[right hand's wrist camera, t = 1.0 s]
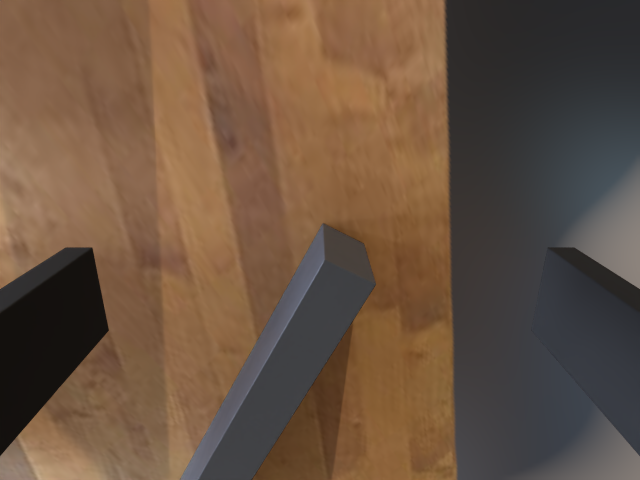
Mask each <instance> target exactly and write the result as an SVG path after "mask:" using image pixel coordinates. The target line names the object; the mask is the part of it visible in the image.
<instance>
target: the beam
mask: <svg viewBox="0 0 640 480" xmlns="http://www.w3.org/2000/svg"><path fill="white" fill-rule="evenodd" d="M375 285H376V283H375V279H374V276H373V273H372V269H371V266H370V262H369V259H368V256H367V252H366V249H365V246H364V244H363V243H361V242H359V241H357V240H355V239H353V238H351V237H349V236H348V235H346V234H344V233H342V232H340V231H338V230H336V229H334V228H332V227H330V226H328V225H326V224H322V226H321V228H320V229H319V231H318V233H317V235H316V236H315V238H314V240H313V242H312V244H311V245H310V247H309V249H308V251H307V253H306V254H305V256H304V258H303V260H302V262H301V263H300V265H299V267H298V269H297V271H296V272H295V274H294V276H293V278H292V280H291V281H290V283H289V285H288V287H287V289H286V290H285V292H284V294H283V296H282V297H281V299H280V301H279V303H278V305H277V306H276V308H275V310H274V312H273V314H272V315H271V317H270V319H269V321H268V323H267V324H266V326H265V328H264V330H263V332H262V333H261V335H260V337H259V339H258V341H257V342H256V344H255V346H254V348H253V350H252V351H251V353H250V355H249V357H248V358H247V360H246V362H245V364H244V366H243V367H242V369H241V371H240V373H239V375H238V376H237V378H236V380H235V382H234V384H233V385H232V387H231V389H230V391H229V393H228V394H227V396H226V398H225V400H224V402H223V403H222V405H221V407H220V409H219V411H218V412H217V414H216V416H215V418H214V419H213V421H212V423H211V425H210V427H209V428H208V430H207V432H206V434H205V436H204V437H203V439H202V441H201V443H200V445H199V446H198V448H197V450H196V452H195V454H194V455H193V457H192V459H191V461H190V463H189V464H188V466H187V468H186V470H185V471H184V473H183V475H182V477H181V479H180V480H252V479H253V477H254V475H255V474H256V472H257V471H258V469H259V468H260V466H261V464H262V463H263V461H264V460H265V458H266V457H267V455H268V453H269V452H270V450H271V449H272V447H273V446H274V444H275V442H276V441H277V439H278V438H279V436H280V435H281V433H282V431H283V430H284V428H285V427H286V425H287V424H288V422H289V420H290V419H291V417H292V416H293V414H294V413H295V411H296V409H297V408H298V406H299V405H300V403H301V402H302V400H303V398H304V397H305V395H306V394H307V392H308V391H309V389H310V387H311V386H312V384H313V383H314V381H315V380H316V378H317V376H318V375H319V373H320V372H321V370H322V369H323V367H324V365H325V364H326V362H327V361H328V359H329V358H330V356H331V354H332V353H333V351H334V350H335V348H336V347H337V345H338V343H339V342H340V340H341V339H342V337H343V336H344V334H345V332H346V331H347V329H348V328H349V326H350V325H351V323H352V321H353V320H354V318H355V317H356V315H357V314H358V312H359V310H360V309H361V307H362V306H363V304H364V303H365V301H366V299H367V298H368V296H369V295H370V293H371V292H372V290H373V288H374V287H375Z"/></svg>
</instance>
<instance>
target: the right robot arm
mask: <svg viewBox="0 0 640 480" xmlns="http://www.w3.org/2000/svg"><path fill="white" fill-rule="evenodd" d="M108 331H109V329H108V324H107V319H106V314H105V309H104V304H103V299H102V294H101V289H100V284H99V279H98V274H97V269H96V264H95V259H94V254H93V249H92V248H64V249H63V250H61V251H60V252H58V253H56V254H55V255H53V256H52V257H50V258H49V259H47V260H45V261H44V262H42V263H41V264H39V265H38V266H36V267H34V268H33V269H31V270H30V271H28V272H27V273H25V274H23V275H22V276H20V277H19V278H17V279H16V280H14V281H12V282H11V283H9V284H8V285H6V286H4V287H3V288H1V289H0V456H1V454H2V453H3V452H4V451H5V450H6V449H7V447H8V446H9V445H10V444H11V443H12V442H13V441H14V439H15V438H16V437H17V436H18V435H19V434H20V432H21V431H22V430H23V429H24V428H25V427H26V426H27V424H28V423H29V422H30V421H31V420H32V419H33V417H34V416H35V415H36V414H37V413H38V412H39V410H40V409H41V408H42V407H43V406H44V405H45V404H46V402H47V401H48V400H49V399H50V398H51V397H52V395H53V394H54V393H55V392H56V391H57V390H58V389H59V387H60V386H61V385H62V384H63V383H64V382H65V380H66V379H67V378H68V377H69V376H70V375H71V373H72V372H73V371H74V370H75V369H76V368H77V367H78V365H79V364H80V363H81V362H82V361H83V360H84V358H85V357H86V356H87V355H88V354H89V353H90V352H91V350H92V349H93V348H94V347H95V346H96V345H97V343H98V342H99V341H100V340H101V339H102V338H103V337H104V335H105V334H106V333H107V332H108ZM531 331H532V332H533V333H534V334H535V335H536V337H537V338H538V339H539V340H540V341H541V342H542V343H543V345H544V346H545V347H546V348H547V349H548V350H549V352H550V353H551V354H552V355H553V356H554V357H555V358H556V360H557V361H558V362H559V363H560V364H561V365H562V367H563V368H564V369H565V370H566V371H567V372H568V374H569V375H570V376H571V377H572V378H573V379H574V380H575V382H576V383H577V384H578V385H579V386H580V387H581V388H582V390H583V391H584V392H585V393H586V394H587V395H588V397H589V398H590V399H591V400H592V401H593V402H594V404H595V405H596V406H597V407H598V408H599V409H600V410H601V412H602V413H603V414H604V415H605V416H606V417H607V419H608V420H609V421H610V422H611V423H612V424H613V426H614V427H615V428H616V429H617V430H618V431H619V432H620V434H621V435H622V436H623V437H624V438H625V439H626V441H627V442H628V443H629V444H630V445H631V446H632V447H633V449H634V450H635V451H636V452H637V453H638V454H639V456H640V289H639V288H637V287H635V286H634V285H632V284H631V283H629V282H628V281H626V280H624V279H623V278H621V277H620V276H618V275H617V274H615V273H613V272H612V271H610V270H609V269H607V268H606V267H604V266H602V265H601V264H599V263H598V262H596V261H595V260H593V259H591V258H590V257H588V256H587V255H585V254H583V253H582V252H580V251H579V250H577V249H576V248H548V249H547V254H546V259H545V264H544V269H543V274H542V279H541V284H540V289H539V294H538V299H537V304H536V309H535V314H534V319H533V324H532V329H531Z"/></svg>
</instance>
